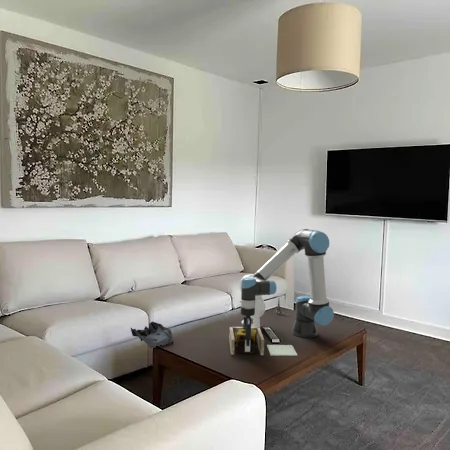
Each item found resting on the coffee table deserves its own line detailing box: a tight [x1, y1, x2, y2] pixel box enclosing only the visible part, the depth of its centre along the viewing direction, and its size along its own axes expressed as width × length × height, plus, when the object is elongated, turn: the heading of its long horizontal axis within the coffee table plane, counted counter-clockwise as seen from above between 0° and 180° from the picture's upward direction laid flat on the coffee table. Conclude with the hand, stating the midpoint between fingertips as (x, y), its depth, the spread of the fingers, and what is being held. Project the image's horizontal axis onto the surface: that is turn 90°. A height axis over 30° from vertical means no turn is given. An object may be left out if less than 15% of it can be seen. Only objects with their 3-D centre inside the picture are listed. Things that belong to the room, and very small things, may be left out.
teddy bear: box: [239, 273, 266, 328], centre depth 266 cm, size 19×18×35 cm
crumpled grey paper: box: [130, 321, 174, 349], centre depth 234 cm, size 18×20×9 cm
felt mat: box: [266, 344, 298, 357], centre depth 228 cm, size 14×14×1 cm
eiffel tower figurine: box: [273, 299, 292, 316], centre depth 297 cm, size 15×10×13 cm
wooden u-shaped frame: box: [228, 326, 265, 356], centre depth 230 cm, size 17×21×8 cm
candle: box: [235, 329, 258, 355], centre depth 226 cm, size 10×10×10 cm
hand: (246, 347), depth 227 cm, fingers closed on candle, 11 cm apart
